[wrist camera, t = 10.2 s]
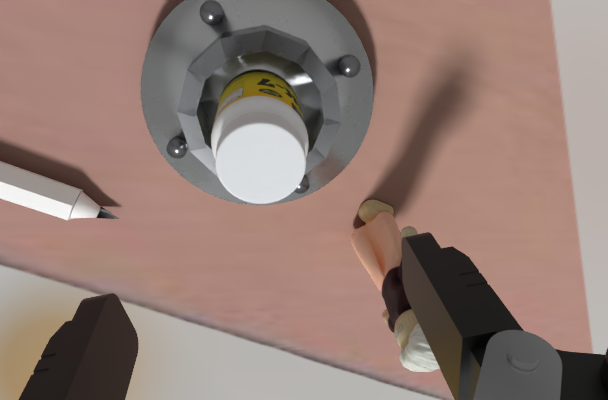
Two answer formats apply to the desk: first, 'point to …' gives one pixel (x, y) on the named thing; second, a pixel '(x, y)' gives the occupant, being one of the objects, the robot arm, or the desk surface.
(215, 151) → the supplement bottle
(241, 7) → the hub plate
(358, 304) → the desk surface
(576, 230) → the desk surface
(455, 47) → the desk surface
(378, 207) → the grandmother figurine
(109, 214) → the white pencil
